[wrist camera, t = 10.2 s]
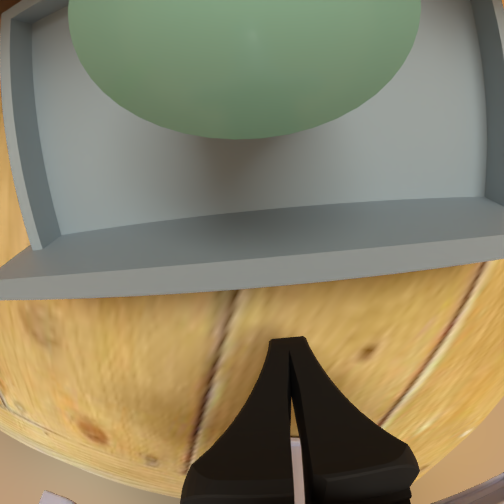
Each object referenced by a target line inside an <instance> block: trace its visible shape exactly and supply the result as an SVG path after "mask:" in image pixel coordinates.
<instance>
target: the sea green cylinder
mask: <svg viewBox="0 0 504 504" xmlns="http://www.w3.org/2000/svg"><path fill="white" fill-rule="evenodd" d="M420 15H421V0H69V4H68V20H69V30H70V34H71V39H72V43H73V46H74V49H75V51H76V53H77V56H78V58H79V60H80V62H81V64H82V66H83V67H84V69H85V70H86V72H87V73H88V75H89V76H90V78H91V79H92V80H93V81H94V82H95V84H96V85H97V86H98V87H99V88H100V89H101V90H102V91H103V92H104V93H105V94H106V95H107V96H108V97H110V98H111V99H112V100H113V101H115V102H116V103H117V104H118V105H119V106H121V107H123V108H124V109H126V110H128V111H129V112H131V113H133V114H134V115H136V116H138V117H140V118H142V119H144V120H146V121H149V122H151V123H153V124H156V125H158V126H160V127H164V128H167V129H171V130H174V131H177V132H181V133H184V134H190V135H196V136H201V137H207V138H220V139H234V140H236V139H260V138H268V137H274V136H281V135H288V134H292V133H296V132H299V131H303V130H307V129H311V128H314V127H317V126H319V125H322V124H325V123H327V122H330V121H332V120H335V119H337V118H339V117H341V116H343V115H345V114H347V113H348V112H350V111H352V110H354V109H356V108H358V107H359V106H361V105H362V104H363V103H365V102H366V101H367V100H369V99H370V98H372V97H373V96H374V95H376V94H377V93H378V92H379V91H380V90H381V89H382V88H383V87H384V86H385V85H386V84H387V83H388V82H389V81H390V80H392V78H393V77H394V76H395V74H396V73H397V72H398V70H399V69H400V68H401V66H402V65H403V64H404V62H405V60H406V58H407V56H408V54H409V53H410V51H411V49H412V47H413V44H414V41H415V38H416V35H417V32H418V28H419V22H420Z"/></svg>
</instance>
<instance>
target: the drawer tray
mask: <svg viewBox="0 0 504 504" xmlns="http://www.w3.org/2000/svg"><path fill="white" fill-rule="evenodd" d="M68 4H69V0H22V1H20V2H19V3H17V4H15V5H14V6H12V7H11V8H9V9H8V10H6V11H5V12H3V13H2V14H1V28H0V81H1V97H2V109H3V118H4V127H5V134H6V141H7V148H8V154H9V159H10V165H11V170H12V175H13V180H14V184H15V189H16V193H17V197H18V201H19V205H20V209H21V213H22V217H23V220H24V224H25V227H26V231H27V234H28V237H29V241H30V244H31V245H30V246H28V247H27V248H26V249H24V250H23V251H21V252H20V253H19V254H17V255H16V256H15V257H13V258H12V259H11V260H10V261H8V262H7V263H6V264H4V265H3V266H2V267H1V268H0V300H45V299H79V298H105V297H127V296H146V295H164V294H180V293H195V292H210V291H223V290H237V289H249V288H261V287H273V286H284V285H295V284H305V283H315V282H325V281H335V280H344V279H354V278H363V277H371V276H380V275H388V274H397V273H405V272H413V271H421V270H428V269H436V268H443V267H450V266H457V265H464V264H471V263H478V262H485V261H491V260H498V259H504V9H503V5H502V1H501V0H421V15H420V22H419V28H418V32H417V35H416V38H415V41H414V44H413V47H412V49H411V51H410V53H409V54H408V56H407V58H406V60H405V62H404V64H403V65H402V66H401V68H400V69H399V70H398V72H397V73H396V74H395V76H394V77H393V78H392V80H390V81H389V82H388V83H387V84H386V85H385V86H384V87H383V88H382V89H381V90H380V91H379V92H378V93H377V94H376V95H374V96H373V97H372V98H370V99H369V100H367V101H366V102H365V103H363V104H362V105H361V106H359V107H358V108H356V109H354V110H352V111H350V112H348V113H347V114H345V115H343V116H341V117H339V118H337V119H335V120H332V121H330V122H327V123H325V124H322V125H319V126H317V127H314V128H311V129H307V130H303V131H299V132H296V133H292V134H288V135H281V136H274V137H268V138H260V139H236V140H234V139H220V138H207V137H201V136H196V135H190V134H184V133H181V132H177V131H174V130H171V129H167V128H164V127H160V126H158V125H156V124H153V123H151V122H149V121H146V120H144V119H142V118H140V117H138V116H136V115H134V114H133V113H131V112H129V111H128V110H126V109H124V108H123V107H121V106H119V105H118V104H117V103H116V102H115V101H113V100H112V99H111V98H110V97H108V96H107V95H106V94H105V93H104V92H103V91H102V90H101V89H100V88H99V87H98V86H97V85H96V84H95V82H94V81H93V80H92V79H91V78H90V76H89V75H88V73H87V72H86V70H85V69H84V67H83V66H82V64H81V62H80V60H79V58H78V56H77V53H76V51H75V49H74V46H73V43H72V39H71V34H70V30H69V20H68Z"/></svg>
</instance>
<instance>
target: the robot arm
mask: <svg viewBox="0 0 504 504" xmlns="http://www.w3.org/2000/svg"><path fill="white" fill-rule="evenodd" d="M291 397H292V402H293V407H294V412H295V417H296V423H297V428H298V433H299V438H290V425H291ZM419 471H420V470H419V466H418V463H417V460H416V458H415V456H414V454H413V452H412V451H411V449H410V447H409V446H408V444H406V443H404V442H403V441H401V440H399V439H397V438H396V437H394V436H392V435H391V434H389V433H388V432H386V431H385V430H383V429H382V428H381V427H379V426H378V425H376V424H375V423H374V422H373V421H371V420H370V419H369V418H368V417H366V416H365V415H364V414H363V413H361V412H360V411H359V410H358V409H357V408H356V407H355V406H354V405H353V404H352V403H351V402H350V401H349V400H348V399H347V398H346V397H345V396H344V395H343V394H342V393H341V392H340V390H339V389H338V388H337V387H336V386H335V384H334V383H333V382H332V381H331V379H330V378H329V377H328V375H327V374H326V373H325V371H324V370H323V368H322V367H321V365H320V364H319V362H318V361H317V359H316V357H315V356H314V354H313V352H312V350H311V349H310V347H309V344H308V342H307V340H306V338H305V337H304V336H300V337H290V338H279V339H271V340H270V341H269V348H268V352H267V356H266V359H265V362H264V365H263V368H262V370H261V373H260V375H259V378H258V380H257V382H256V384H255V386H254V388H253V390H252V392H251V394H250V396H249V398H248V400H247V401H246V403H245V405H244V406H243V408H242V409H241V411H240V412H239V414H238V415H237V417H236V418H235V419H234V421H233V422H232V424H231V425H230V426H229V428H228V429H227V430H226V431H225V432H224V433H223V435H222V436H221V437H220V438H219V439H218V440H217V441H216V442H215V443H214V445H213V446H212V447H211V448H210V449H209V450H208V451H206V452H205V453H204V454H203V455H202V456H201V457H200V458H199V459H198V460H196V461H195V462H194V463H193V464H192V465H191V467H190V469H189V471H188V474H187V476H186V479H185V482H184V485H183V488H182V494H181V501H180V504H411V503H410V498H411V496H412V495H411V491H410V486H411V484H412V483H413V481H414V480H415V479H416V477H417V476H418V474H419ZM39 504H76V503H75V502H73V501H72V500H70V499H68V498H66V497H63V496H60V495H57V494H55V493H52V492H49V491H47V490H45V491H44V492H43V494H42V497H41V499H40V502H39ZM431 504H504V472H503V473H501V474H499V475H497V476H495V477H493V478H491V479H489V480H487V481H485V482H483V483H481V484H479V485H476V486H474V487H472V488H470V489H467V490H465V491H463V492H460V493H458V494H455V495H453V496H450V497H448V498H445V499H442V500H440V501H437V502H434V503H431Z"/></svg>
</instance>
